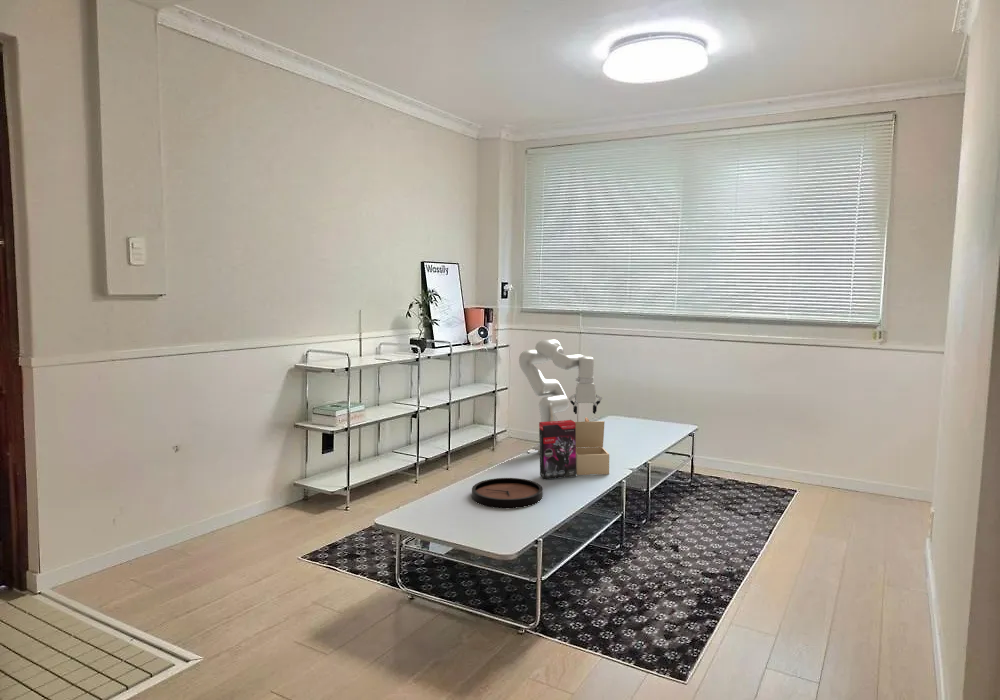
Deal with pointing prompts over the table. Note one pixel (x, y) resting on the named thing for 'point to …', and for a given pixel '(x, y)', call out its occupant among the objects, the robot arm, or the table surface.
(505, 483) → the wall clock
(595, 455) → the carton
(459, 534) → the table surface
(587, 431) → the flap
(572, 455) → the graphics card box
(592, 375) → the robot arm
